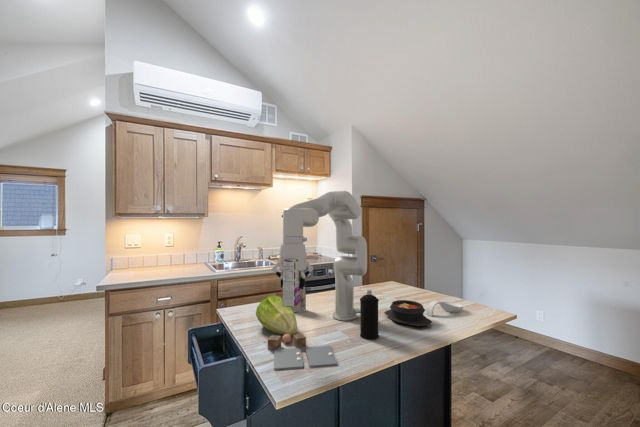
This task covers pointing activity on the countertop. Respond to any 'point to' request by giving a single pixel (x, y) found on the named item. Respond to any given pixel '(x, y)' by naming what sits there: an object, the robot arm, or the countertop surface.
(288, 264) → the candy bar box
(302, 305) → the coffee box
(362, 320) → the aerosol can
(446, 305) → the white slipper
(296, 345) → the walnut cube
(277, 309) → the lettuce
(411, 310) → the casserole
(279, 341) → the walnut cube
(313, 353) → the pad one
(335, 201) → the robot arm
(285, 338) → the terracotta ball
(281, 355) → the pad two
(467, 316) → the countertop surface
